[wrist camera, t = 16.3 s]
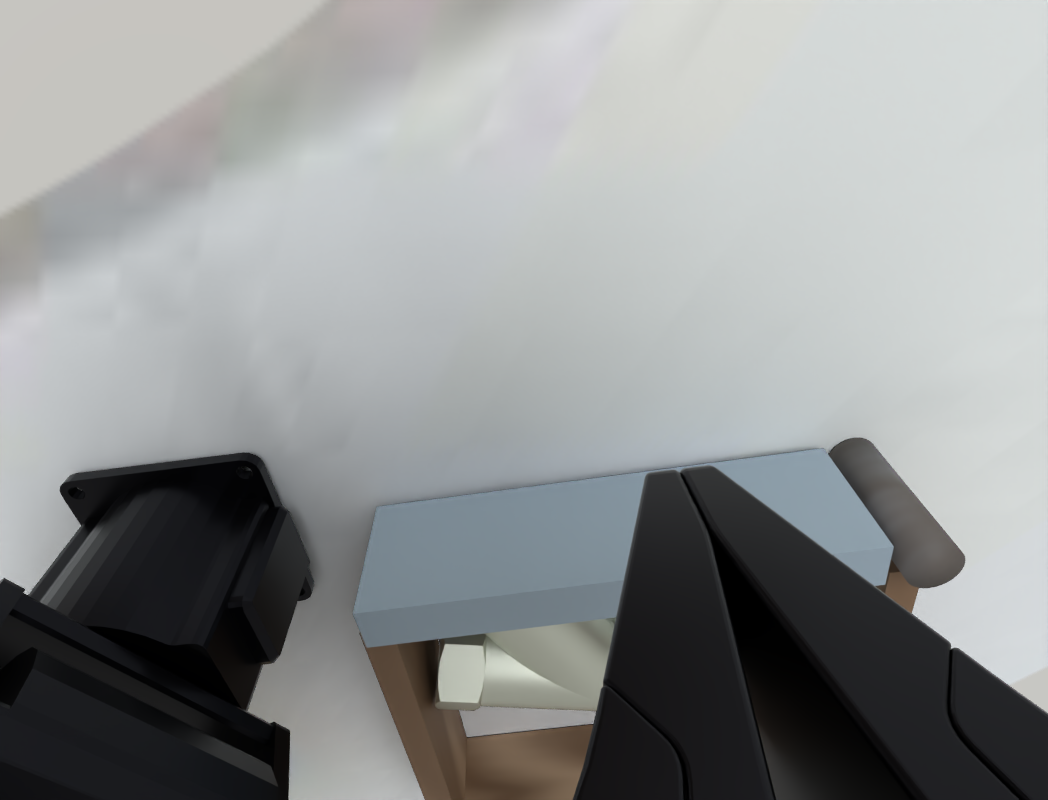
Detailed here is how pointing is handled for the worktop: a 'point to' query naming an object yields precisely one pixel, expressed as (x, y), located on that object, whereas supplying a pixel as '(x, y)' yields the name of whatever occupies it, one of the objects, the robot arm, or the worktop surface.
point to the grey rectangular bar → (568, 548)
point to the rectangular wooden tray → (558, 754)
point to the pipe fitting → (525, 667)
